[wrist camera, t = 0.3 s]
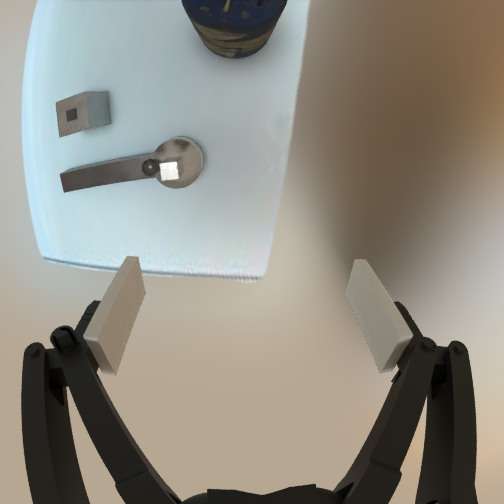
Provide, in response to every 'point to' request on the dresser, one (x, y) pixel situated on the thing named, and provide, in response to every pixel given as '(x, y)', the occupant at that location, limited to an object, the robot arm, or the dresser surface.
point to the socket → (82, 112)
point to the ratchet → (142, 167)
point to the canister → (234, 24)
